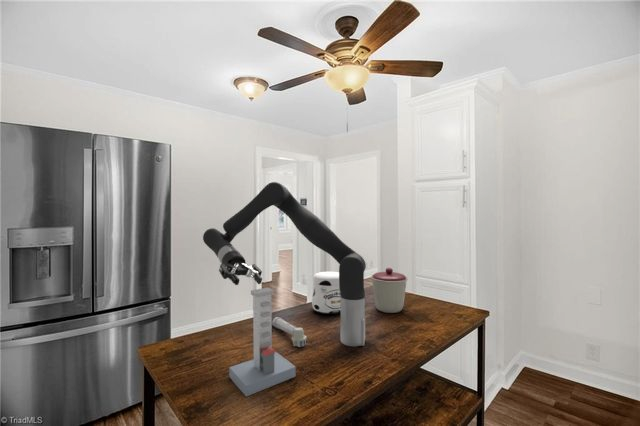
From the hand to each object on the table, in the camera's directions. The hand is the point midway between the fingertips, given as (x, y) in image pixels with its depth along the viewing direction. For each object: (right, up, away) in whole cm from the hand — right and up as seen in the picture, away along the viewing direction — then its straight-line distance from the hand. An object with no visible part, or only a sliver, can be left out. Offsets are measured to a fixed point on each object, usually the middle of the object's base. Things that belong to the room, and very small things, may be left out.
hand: (249, 282), depth 102 cm
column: (+6, -23, -11) cm, 26 cm away
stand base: (+6, -26, -11) cm, 29 cm away
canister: (+58, -25, +50) cm, 81 cm away
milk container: (+28, -25, +48) cm, 61 cm away
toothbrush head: (+11, -26, +19) cm, 34 cm away
